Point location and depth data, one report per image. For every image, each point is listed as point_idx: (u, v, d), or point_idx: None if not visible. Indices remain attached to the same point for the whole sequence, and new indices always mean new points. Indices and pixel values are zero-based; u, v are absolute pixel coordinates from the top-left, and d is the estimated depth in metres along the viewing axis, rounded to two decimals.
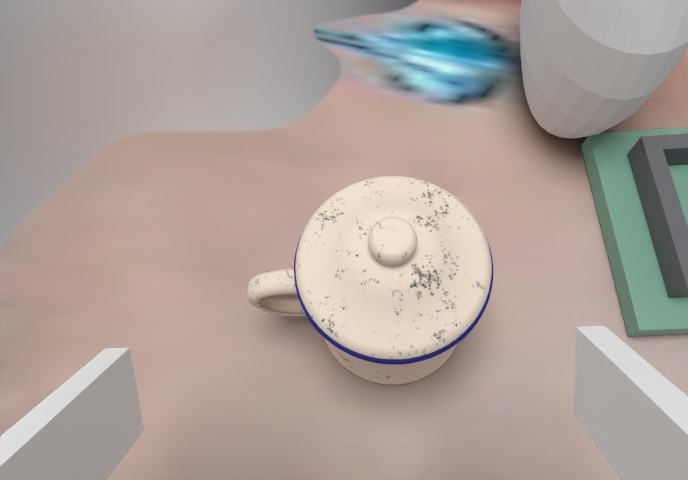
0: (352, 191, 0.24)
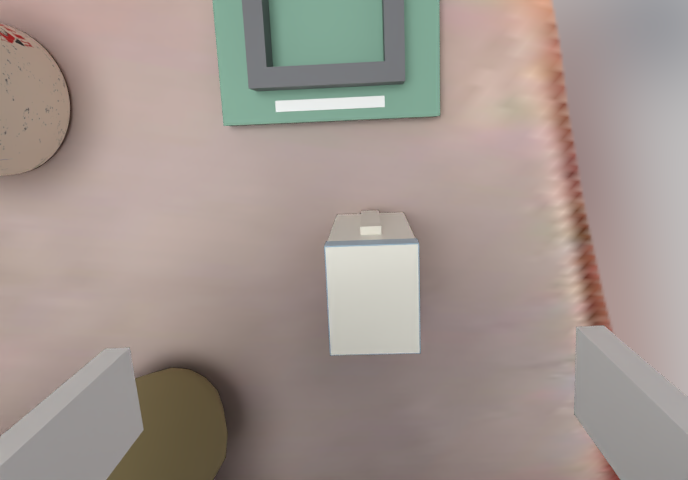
0: None
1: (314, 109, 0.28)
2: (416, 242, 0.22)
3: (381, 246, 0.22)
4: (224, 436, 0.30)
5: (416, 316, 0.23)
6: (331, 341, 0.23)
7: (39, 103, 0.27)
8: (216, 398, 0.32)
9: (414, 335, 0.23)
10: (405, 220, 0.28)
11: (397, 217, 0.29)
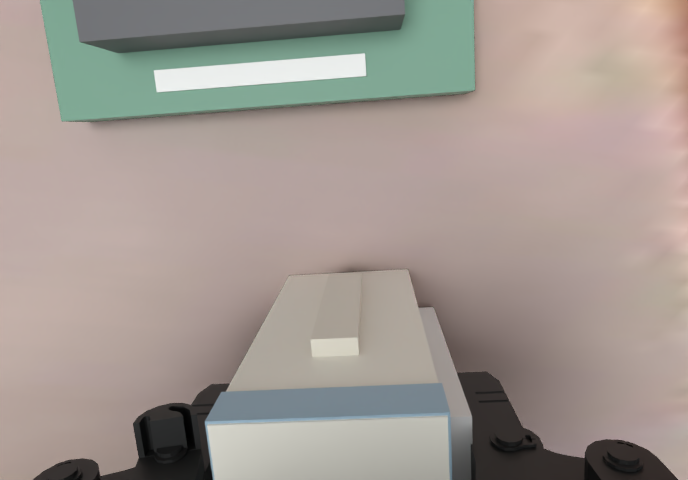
0: None
1: (230, 85, 0.15)
2: (442, 407, 0.09)
3: (352, 420, 0.09)
4: None
5: None
6: None
7: None
8: None
9: None
10: (412, 297, 0.14)
11: (397, 286, 0.15)
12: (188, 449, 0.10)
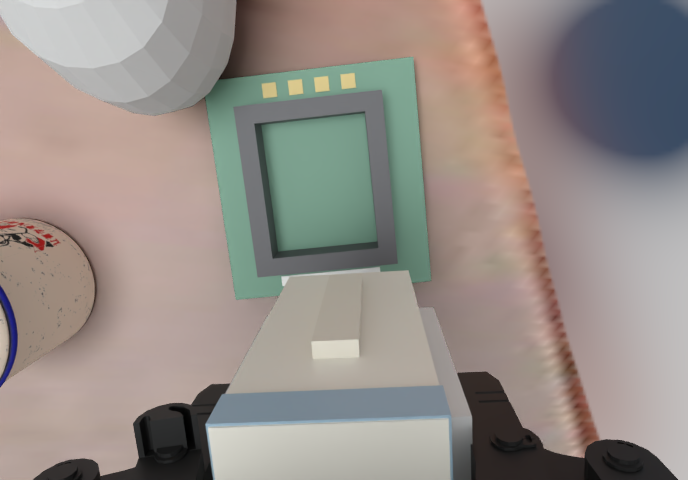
0: None
1: None
2: (444, 410, 0.09)
3: (353, 422, 0.09)
4: None
5: None
6: None
7: (70, 297, 0.30)
8: None
9: None
10: (413, 298, 0.14)
11: (397, 287, 0.15)
12: (188, 449, 0.10)
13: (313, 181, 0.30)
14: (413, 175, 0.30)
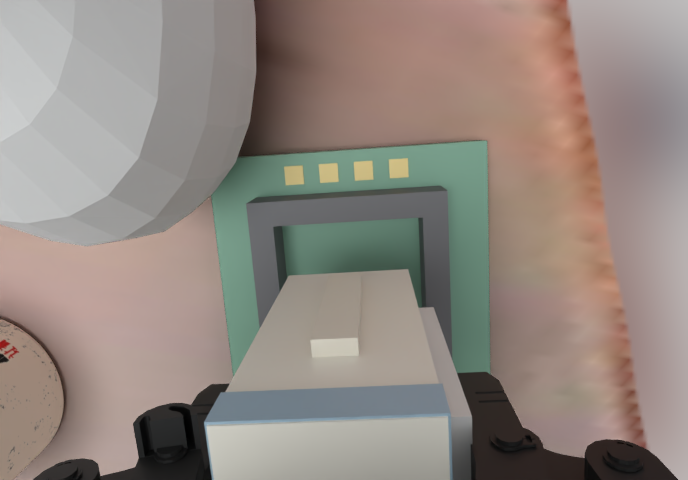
0: None
1: None
2: (443, 408, 0.09)
3: (352, 421, 0.09)
4: None
5: None
6: None
7: (27, 428, 0.24)
8: None
9: None
10: (412, 297, 0.14)
11: (397, 286, 0.15)
12: (188, 449, 0.10)
13: None
14: (477, 291, 0.23)
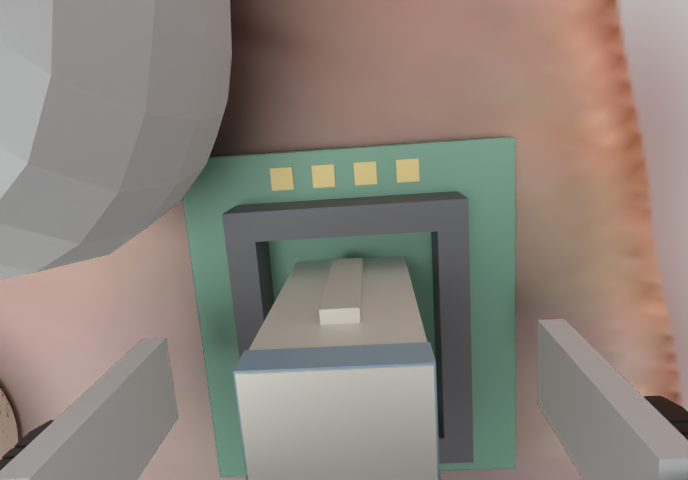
0: None
1: None
2: (430, 359, 0.10)
3: (355, 369, 0.10)
4: None
5: None
6: None
7: None
8: None
9: None
10: (407, 278, 0.16)
11: (394, 270, 0.17)
12: None
13: None
14: (500, 316, 0.19)
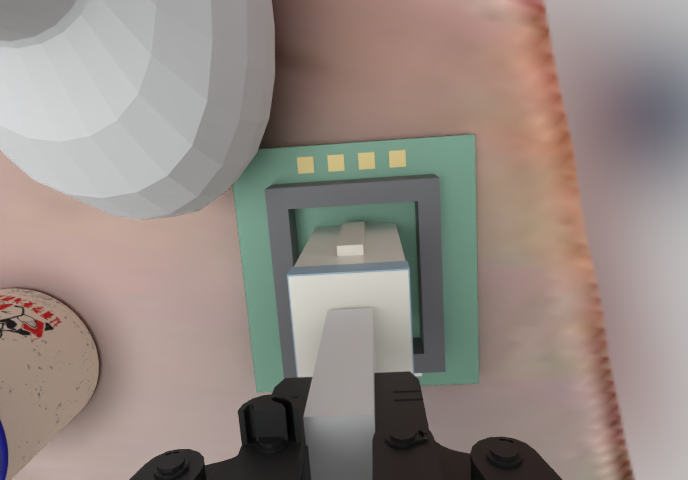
0: None
1: None
2: (406, 267, 0.17)
3: (361, 273, 0.17)
4: None
5: (409, 362, 0.18)
6: None
7: (70, 387, 0.27)
8: None
9: None
10: (396, 233, 0.23)
11: (387, 229, 0.24)
12: (288, 441, 0.10)
13: None
14: (466, 267, 0.26)
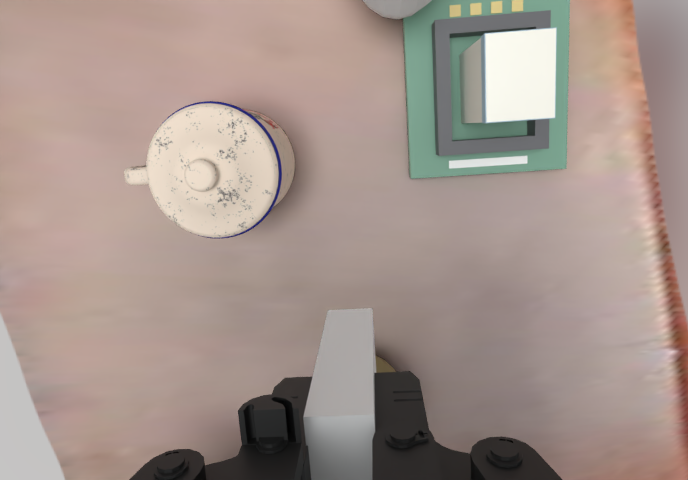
0: (177, 121, 0.33)
1: (476, 166, 0.40)
2: (554, 28, 0.30)
3: (528, 31, 0.30)
4: None
5: (553, 88, 0.30)
6: (487, 111, 0.31)
7: (289, 168, 0.39)
8: None
9: (550, 103, 0.31)
10: None
11: None
12: (289, 442, 0.10)
13: None
14: (560, 82, 0.39)
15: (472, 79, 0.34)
